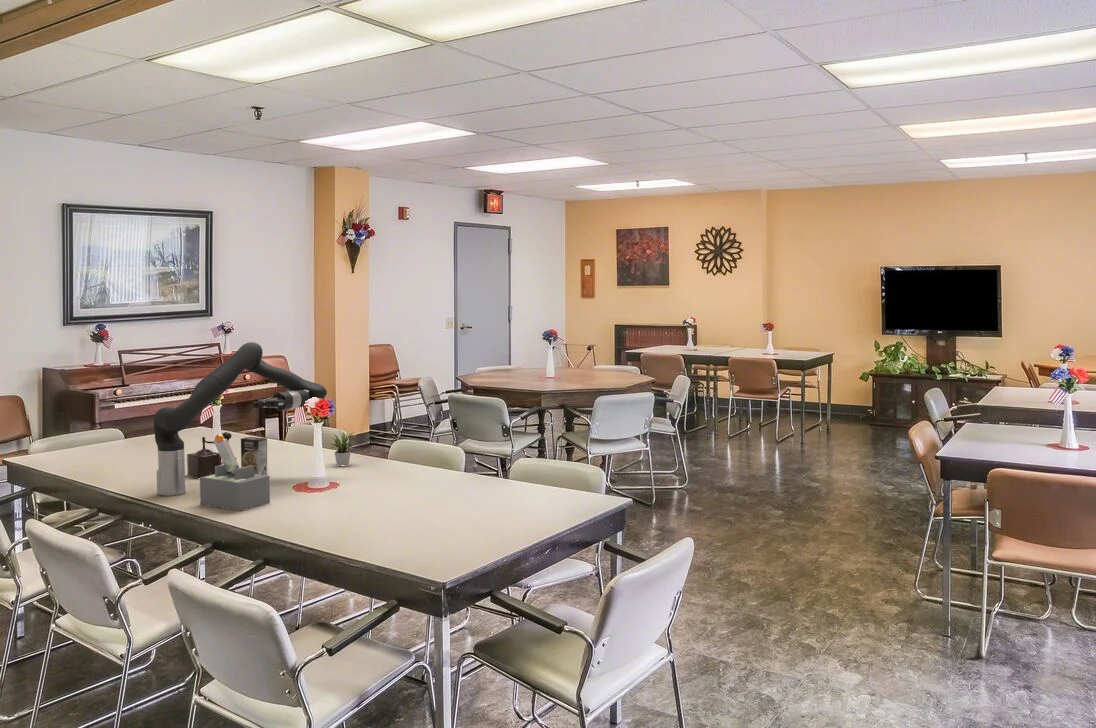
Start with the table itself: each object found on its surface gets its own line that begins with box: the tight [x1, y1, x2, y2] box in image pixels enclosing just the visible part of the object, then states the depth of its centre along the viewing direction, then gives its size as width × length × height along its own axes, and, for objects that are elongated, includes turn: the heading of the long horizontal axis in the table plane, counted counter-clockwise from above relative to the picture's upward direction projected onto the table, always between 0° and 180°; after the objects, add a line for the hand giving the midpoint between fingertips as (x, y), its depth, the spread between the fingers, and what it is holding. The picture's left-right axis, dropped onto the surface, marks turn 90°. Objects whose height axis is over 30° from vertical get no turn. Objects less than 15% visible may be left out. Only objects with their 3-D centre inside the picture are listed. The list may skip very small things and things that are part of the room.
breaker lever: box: [212, 433, 240, 476], centre depth 293 cm, size 3×6×18 cm, turn 63°
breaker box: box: [199, 464, 271, 511], centre depth 297 cm, size 14×20×14 cm
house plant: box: [329, 431, 358, 467], centre depth 367 cm, size 14×14×16 cm
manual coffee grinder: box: [186, 431, 232, 479], centre depth 346 cm, size 16×11×18 cm
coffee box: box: [240, 436, 269, 476], centre depth 345 cm, size 9×6×16 cm
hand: (254, 405), depth 314 cm, fingers closed
